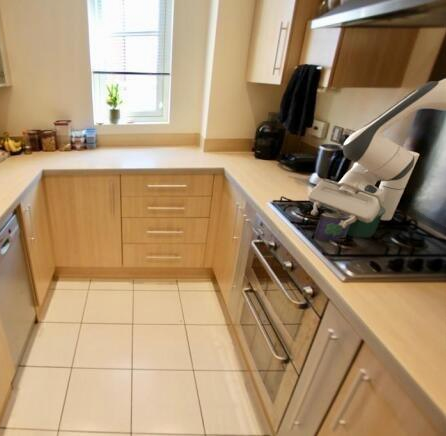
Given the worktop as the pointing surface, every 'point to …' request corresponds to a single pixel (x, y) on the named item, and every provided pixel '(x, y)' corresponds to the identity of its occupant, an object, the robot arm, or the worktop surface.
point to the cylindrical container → (394, 192)
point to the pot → (362, 227)
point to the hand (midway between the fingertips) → (326, 220)
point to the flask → (331, 227)
